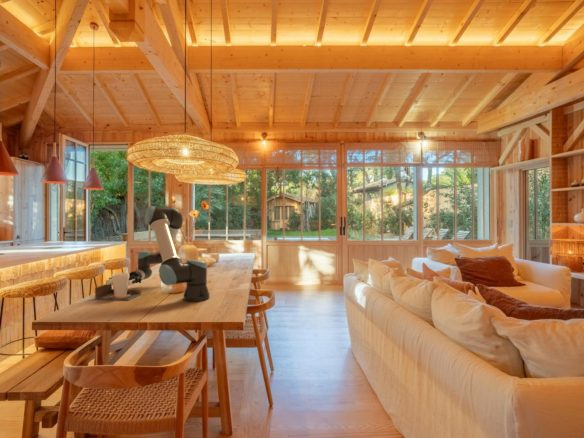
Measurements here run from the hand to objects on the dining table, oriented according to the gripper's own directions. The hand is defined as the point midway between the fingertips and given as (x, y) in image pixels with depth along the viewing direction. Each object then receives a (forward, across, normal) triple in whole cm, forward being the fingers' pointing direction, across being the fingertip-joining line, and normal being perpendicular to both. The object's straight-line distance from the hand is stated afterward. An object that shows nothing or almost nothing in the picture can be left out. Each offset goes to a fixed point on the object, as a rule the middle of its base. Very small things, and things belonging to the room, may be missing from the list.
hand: (117, 283), depth 196 cm
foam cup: (-3, 0, -9) cm, 9 cm away
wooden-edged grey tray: (-3, +1, -9) cm, 10 cm away
